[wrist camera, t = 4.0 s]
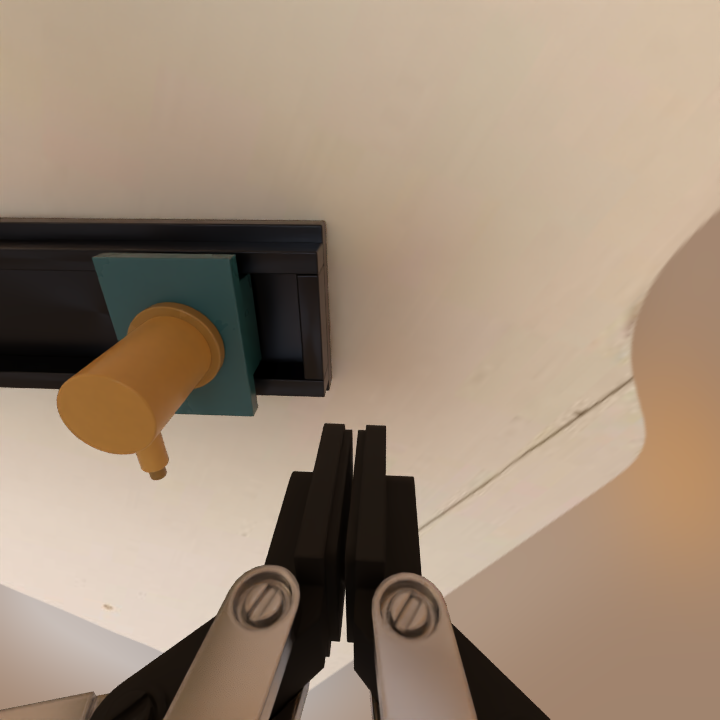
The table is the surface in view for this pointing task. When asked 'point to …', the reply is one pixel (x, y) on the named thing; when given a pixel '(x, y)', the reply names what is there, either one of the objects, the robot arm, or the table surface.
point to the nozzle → (165, 352)
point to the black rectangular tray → (169, 236)
